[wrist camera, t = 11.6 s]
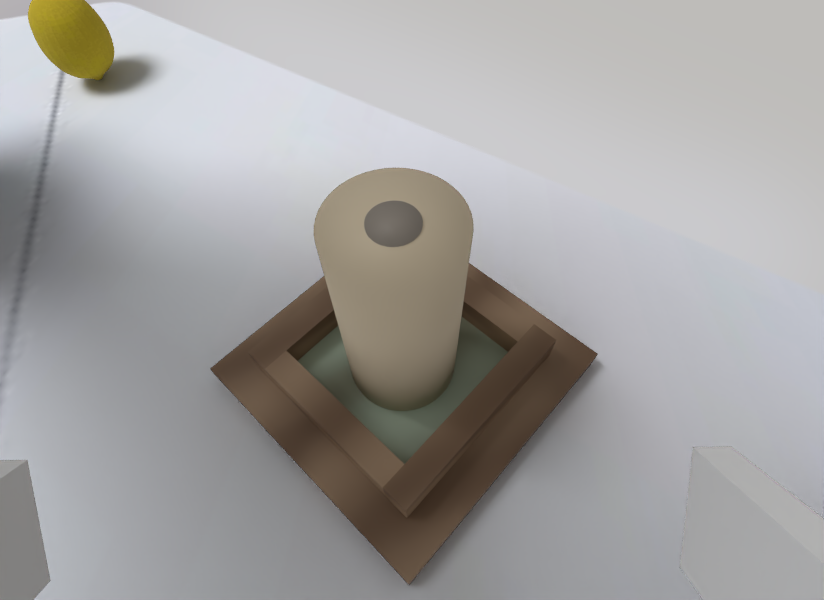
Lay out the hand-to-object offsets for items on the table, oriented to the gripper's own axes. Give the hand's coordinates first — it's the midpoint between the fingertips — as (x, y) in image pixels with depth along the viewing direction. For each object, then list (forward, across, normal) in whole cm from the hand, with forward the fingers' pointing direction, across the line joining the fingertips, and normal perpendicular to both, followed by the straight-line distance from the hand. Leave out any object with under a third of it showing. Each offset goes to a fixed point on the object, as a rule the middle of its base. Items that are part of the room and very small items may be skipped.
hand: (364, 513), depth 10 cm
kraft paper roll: (+19, +1, -3) cm, 19 cm away
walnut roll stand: (+20, +1, -4) cm, 20 cm away
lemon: (+41, -27, +17) cm, 52 cm away
